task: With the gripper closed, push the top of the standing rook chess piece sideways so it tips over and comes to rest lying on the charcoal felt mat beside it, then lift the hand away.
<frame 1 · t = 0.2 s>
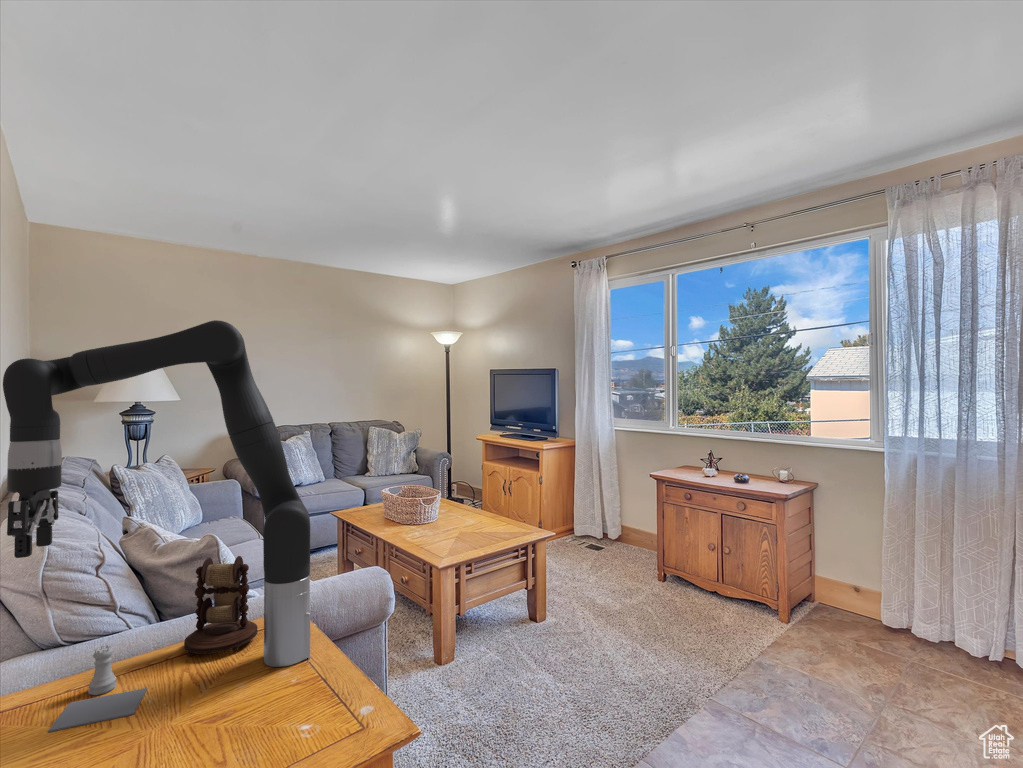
hand: (34, 551, 96), 28 cm above the table, tool pointing down, fingers open, 8 cm apart
felt mat: (101, 709, 93), on the table
rook chess piece: (102, 691, 100), on the table
wooden spool holder: (221, 645, 118), on the table
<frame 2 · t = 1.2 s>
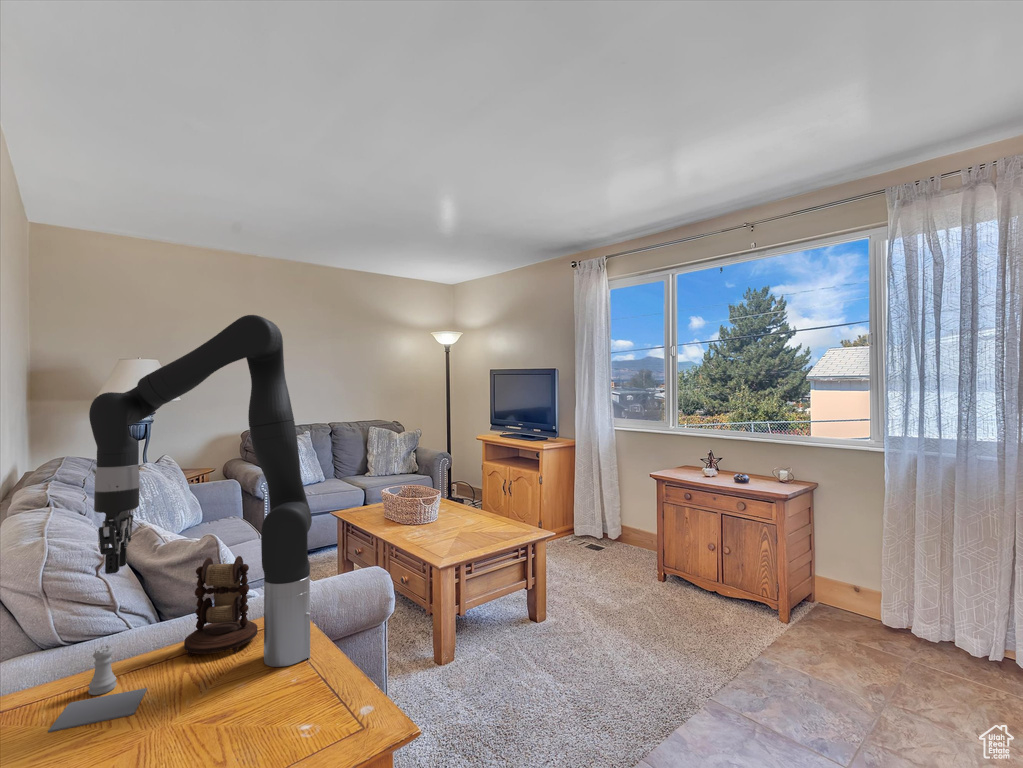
hand: (116, 569, 107), 21 cm above the table, tool pointing down, fingers open, 4 cm apart
nothing on the table moved.
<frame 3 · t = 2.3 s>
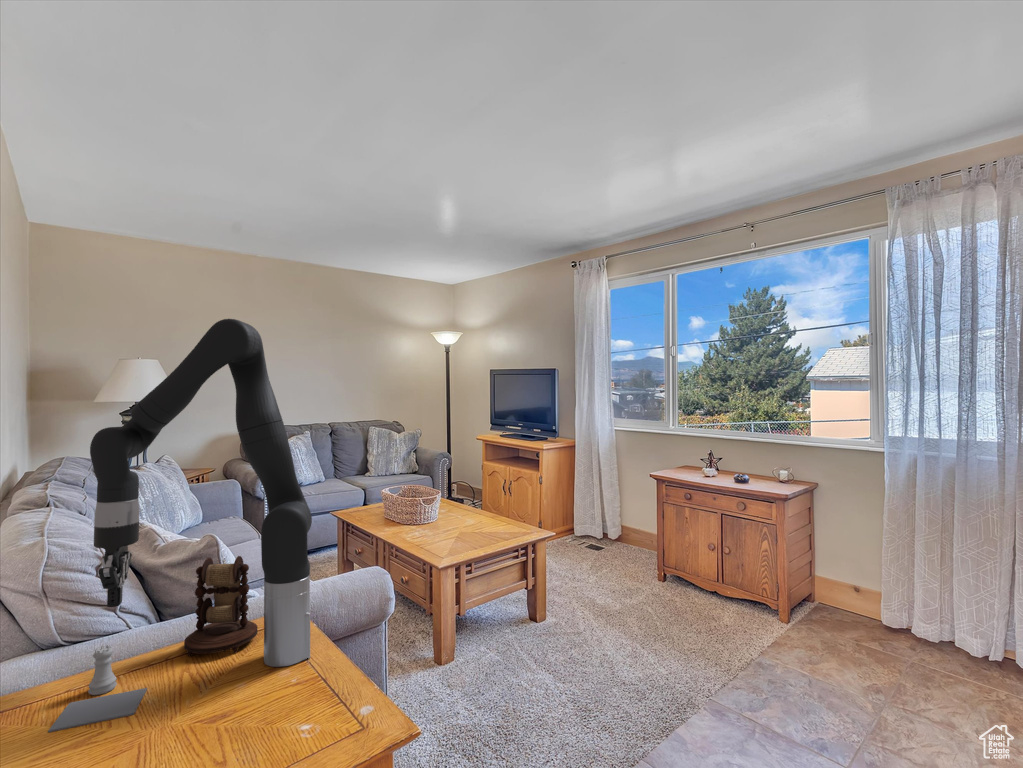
hand: (114, 605, 107), 14 cm above the table, tool pointing down, fingers closed
nothing on the table moved.
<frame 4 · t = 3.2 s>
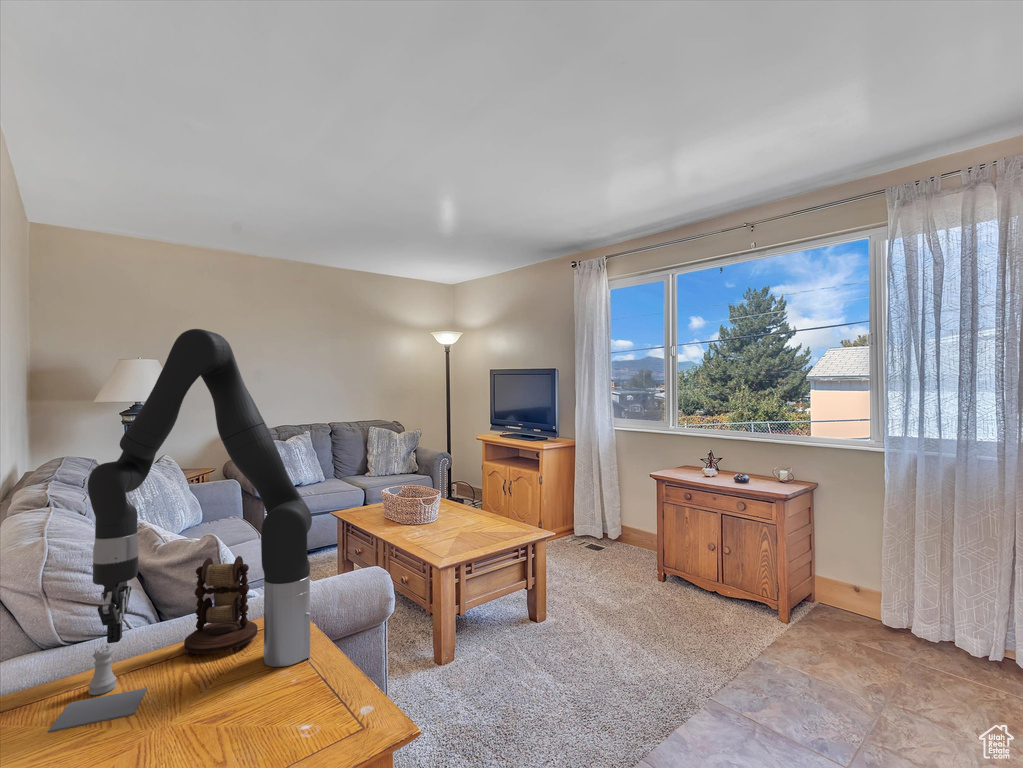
hand: (114, 641, 106), 7 cm above the table, tool pointing down, fingers closed
nothing on the table moved.
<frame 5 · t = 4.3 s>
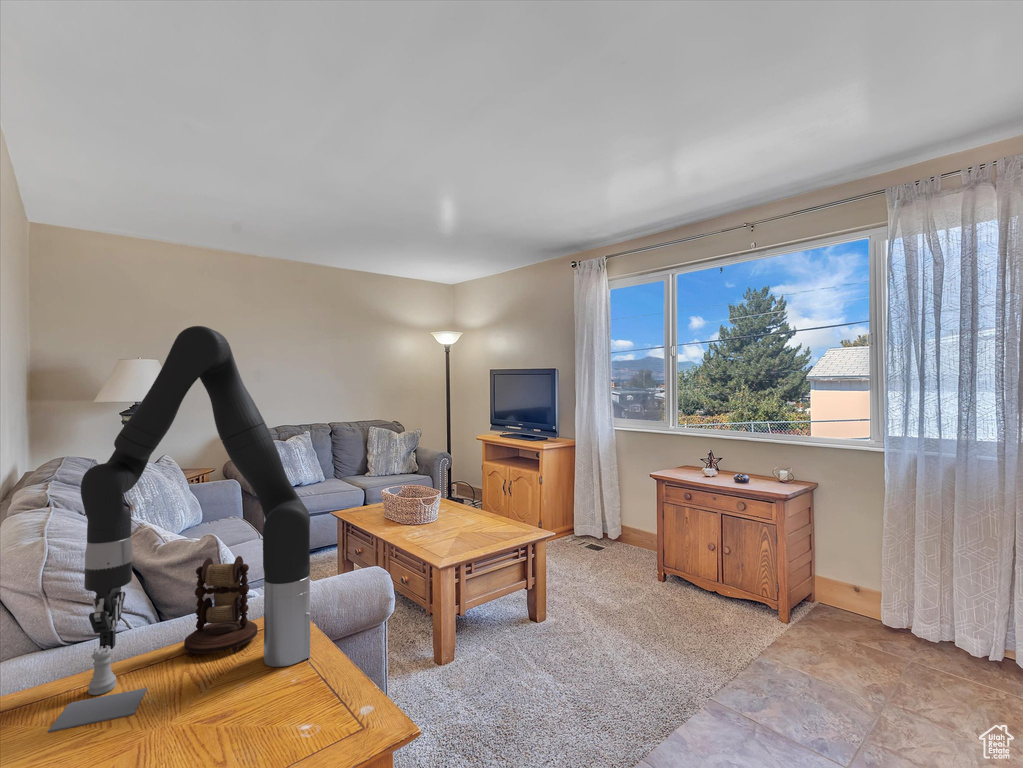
hand: (107, 649, 102), 7 cm above the table, tool pointing down, fingers closed
rook chess piece: (102, 690, 100), on the table, touching gripper
everything else where it was.
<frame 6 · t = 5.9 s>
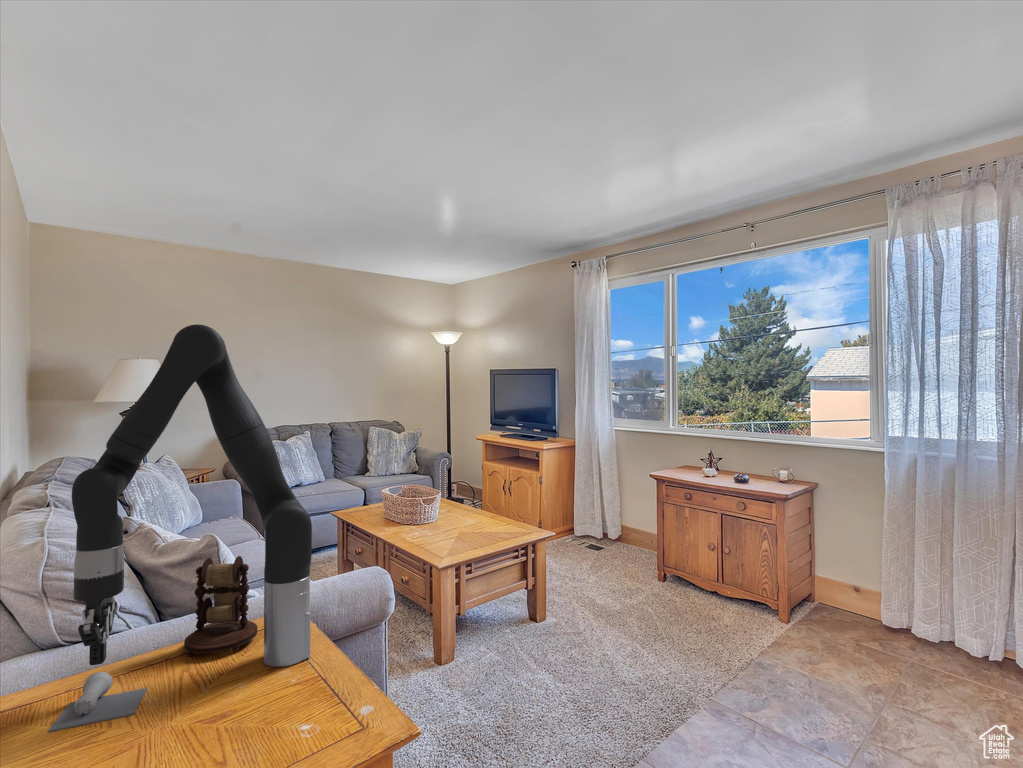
hand: (97, 662, 97), 6 cm above the table, tool pointing down, fingers closed
rook chess piece: (99, 681, 98), point 3 cm above the table, touching felt mat
everything else where it was.
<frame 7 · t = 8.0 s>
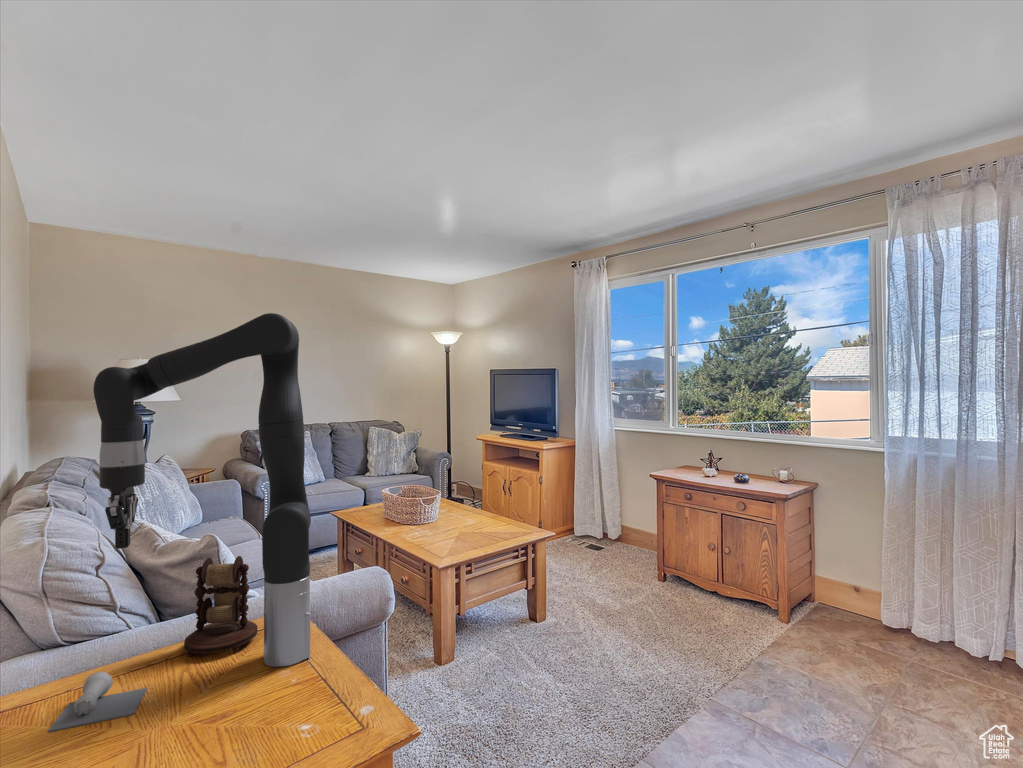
hand: (122, 547, 106), 26 cm above the table, tool pointing down, fingers closed
nothing on the table moved.
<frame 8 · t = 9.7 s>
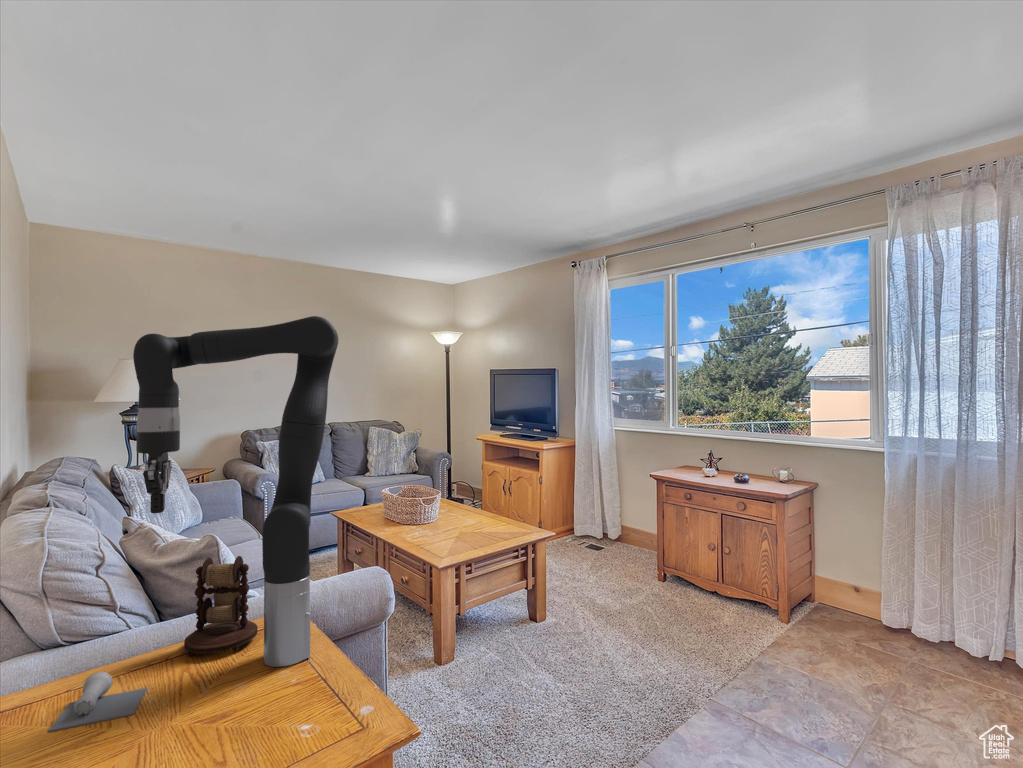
hand: (157, 512, 107), 33 cm above the table, tool pointing down, fingers closed
nothing on the table moved.
at the end: rook chess piece tilted 95°; rook chess piece inside the target area (3.9 cm from its centre), point 2.6 cm above the table; the gripper is holding nothing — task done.
